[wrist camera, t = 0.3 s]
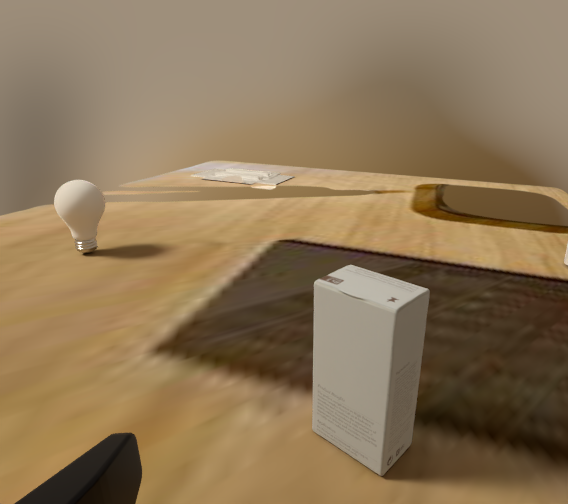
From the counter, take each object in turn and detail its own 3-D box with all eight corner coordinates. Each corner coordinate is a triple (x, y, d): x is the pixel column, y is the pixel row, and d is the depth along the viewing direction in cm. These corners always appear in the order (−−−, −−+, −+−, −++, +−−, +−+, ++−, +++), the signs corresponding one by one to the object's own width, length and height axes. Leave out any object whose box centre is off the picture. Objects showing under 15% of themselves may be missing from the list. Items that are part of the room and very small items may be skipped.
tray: (220, 170, 142) (220, 158, 140) (298, 181, 132) (299, 169, 131) (183, 180, 124) (183, 167, 123) (271, 193, 114) (271, 180, 113)
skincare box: (413, 444, 30) (438, 287, 26) (379, 483, 27) (401, 311, 23) (341, 402, 34) (353, 260, 30) (305, 432, 31) (312, 278, 27)
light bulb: (116, 245, 67) (108, 176, 64) (103, 261, 61) (92, 184, 57) (73, 246, 67) (62, 175, 63) (55, 261, 61) (41, 184, 57)
